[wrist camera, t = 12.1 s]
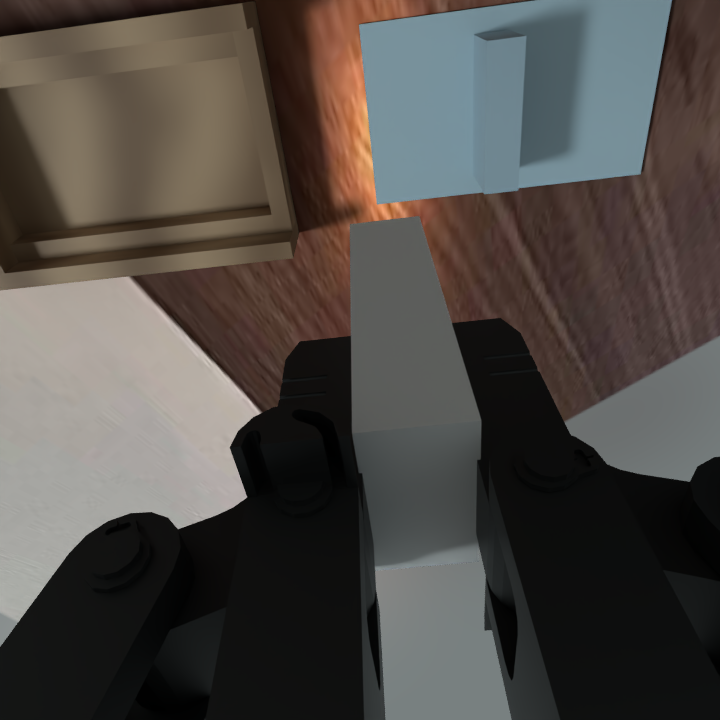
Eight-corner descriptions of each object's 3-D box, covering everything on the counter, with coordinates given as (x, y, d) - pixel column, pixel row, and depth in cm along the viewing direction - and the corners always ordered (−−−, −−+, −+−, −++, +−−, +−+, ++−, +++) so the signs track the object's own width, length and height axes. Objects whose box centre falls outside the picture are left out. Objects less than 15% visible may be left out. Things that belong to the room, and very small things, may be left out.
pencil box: (28, 263, 31) (-3, 290, 29) (-81, 47, 25) (-136, 56, 22) (299, 232, 30) (293, 258, 28) (255, 0, 24) (241, 3, 21)
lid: (376, 199, 30) (378, 226, 27) (359, 23, 25) (359, 29, 22) (634, 169, 29) (668, 193, 26) (666, -19, 24) (714, -19, 21)
